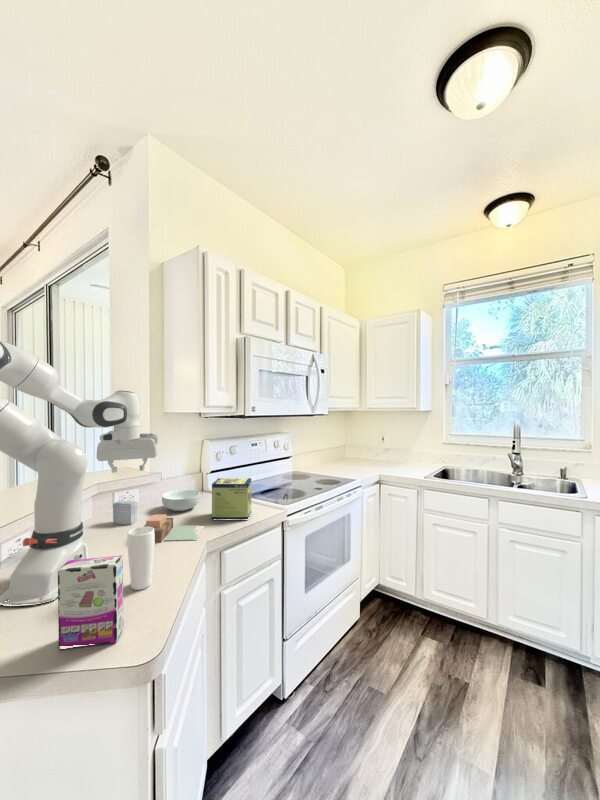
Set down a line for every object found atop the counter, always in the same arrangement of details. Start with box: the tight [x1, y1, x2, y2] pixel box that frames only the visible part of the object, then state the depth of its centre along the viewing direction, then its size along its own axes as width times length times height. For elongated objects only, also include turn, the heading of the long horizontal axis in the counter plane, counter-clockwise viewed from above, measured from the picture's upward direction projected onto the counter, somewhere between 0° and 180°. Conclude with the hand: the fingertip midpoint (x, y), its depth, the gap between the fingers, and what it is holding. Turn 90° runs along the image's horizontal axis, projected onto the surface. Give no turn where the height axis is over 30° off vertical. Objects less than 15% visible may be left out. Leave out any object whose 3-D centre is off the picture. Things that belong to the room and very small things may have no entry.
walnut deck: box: [143, 517, 174, 543], centre depth 130 cm, size 14×8×4 cm, turn 3°
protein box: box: [211, 477, 252, 520], centre depth 151 cm, size 10×16×16 cm
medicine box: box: [112, 500, 138, 526], centre depth 143 cm, size 8×4×9 cm, turn 84°
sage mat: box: [163, 524, 199, 542], centre depth 132 cm, size 14×12×1 cm
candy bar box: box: [57, 555, 124, 647], centre depth 74 cm, size 11×5×16 cm, turn 101°
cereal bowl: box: [161, 489, 201, 512], centre depth 161 cm, size 17×17×7 cm
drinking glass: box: [126, 525, 155, 591], centre depth 95 cm, size 7×7×15 cm
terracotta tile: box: [145, 513, 167, 528], centre depth 130 cm, size 7×5×2 cm
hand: (128, 471), depth 130 cm, fingers open, 8 cm apart
